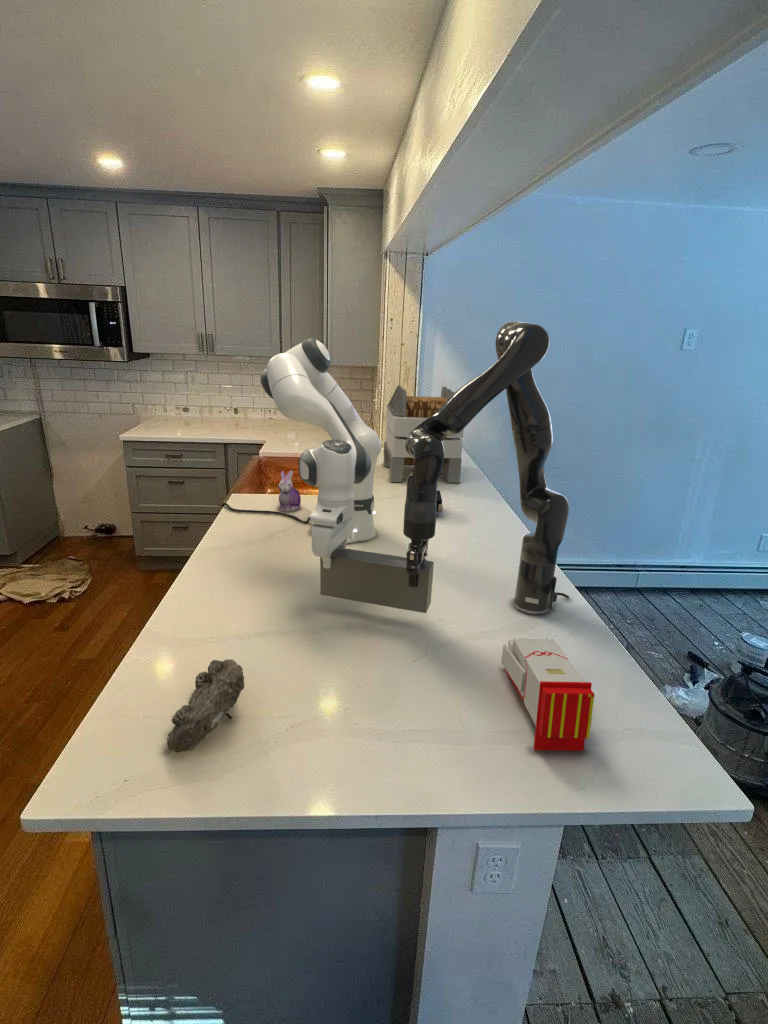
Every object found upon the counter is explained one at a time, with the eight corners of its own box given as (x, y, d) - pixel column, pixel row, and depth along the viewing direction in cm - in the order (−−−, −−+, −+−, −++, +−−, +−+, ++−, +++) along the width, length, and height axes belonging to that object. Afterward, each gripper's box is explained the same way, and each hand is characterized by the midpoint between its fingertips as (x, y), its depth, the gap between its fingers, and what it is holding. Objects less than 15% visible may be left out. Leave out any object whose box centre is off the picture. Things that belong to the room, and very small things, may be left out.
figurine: (281, 513, 213) (281, 475, 208) (273, 505, 222) (272, 468, 217) (305, 510, 217) (305, 473, 212) (296, 502, 226) (296, 466, 221)
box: (320, 595, 144) (320, 554, 140) (328, 585, 149) (328, 545, 145) (426, 613, 137) (429, 571, 133) (430, 602, 142) (433, 561, 138)
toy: (549, 621, 128) (604, 690, 99) (544, 676, 131) (595, 758, 101) (496, 620, 128) (535, 688, 98) (492, 675, 130) (528, 757, 101)
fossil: (192, 660, 117) (244, 628, 112) (224, 691, 120) (276, 661, 115) (142, 746, 98) (202, 712, 93) (182, 779, 101) (242, 748, 96)
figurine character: (442, 522, 216) (438, 505, 229) (444, 504, 213) (440, 488, 226) (425, 521, 216) (422, 504, 229) (426, 504, 212) (423, 487, 226)
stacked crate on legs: (382, 463, 289) (386, 382, 275) (445, 464, 293) (451, 384, 279) (390, 482, 257) (394, 392, 243) (460, 483, 261) (468, 394, 247)
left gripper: (338, 494, 148) (337, 542, 153) (306, 519, 129) (306, 573, 134) (361, 497, 146) (359, 546, 151) (332, 523, 128) (331, 578, 132)
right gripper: (429, 528, 125) (424, 596, 131) (441, 508, 138) (436, 571, 144) (396, 524, 127) (393, 591, 133) (411, 504, 140) (408, 566, 146)
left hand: (334, 559), depth 142 cm, fingers open, 8 cm apart
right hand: (416, 580), depth 138 cm, fingers closed on box, 5 cm apart
